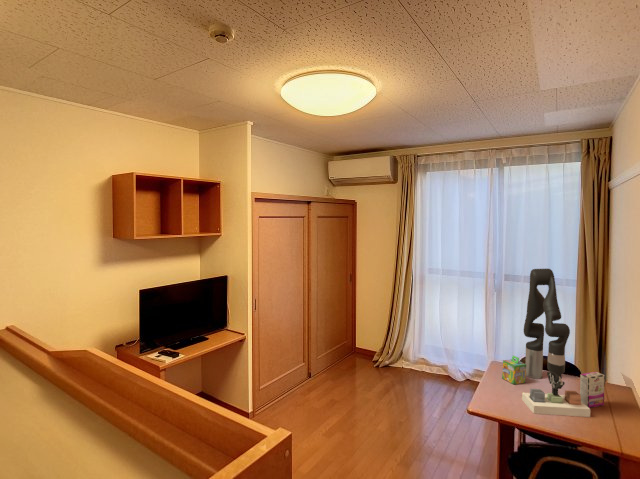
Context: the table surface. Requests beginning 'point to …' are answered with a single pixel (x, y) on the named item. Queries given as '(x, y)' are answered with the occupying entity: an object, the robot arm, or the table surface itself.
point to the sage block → (554, 398)
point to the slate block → (537, 395)
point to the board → (556, 407)
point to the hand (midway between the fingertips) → (554, 394)
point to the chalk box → (514, 371)
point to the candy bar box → (592, 389)
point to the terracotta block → (572, 397)
